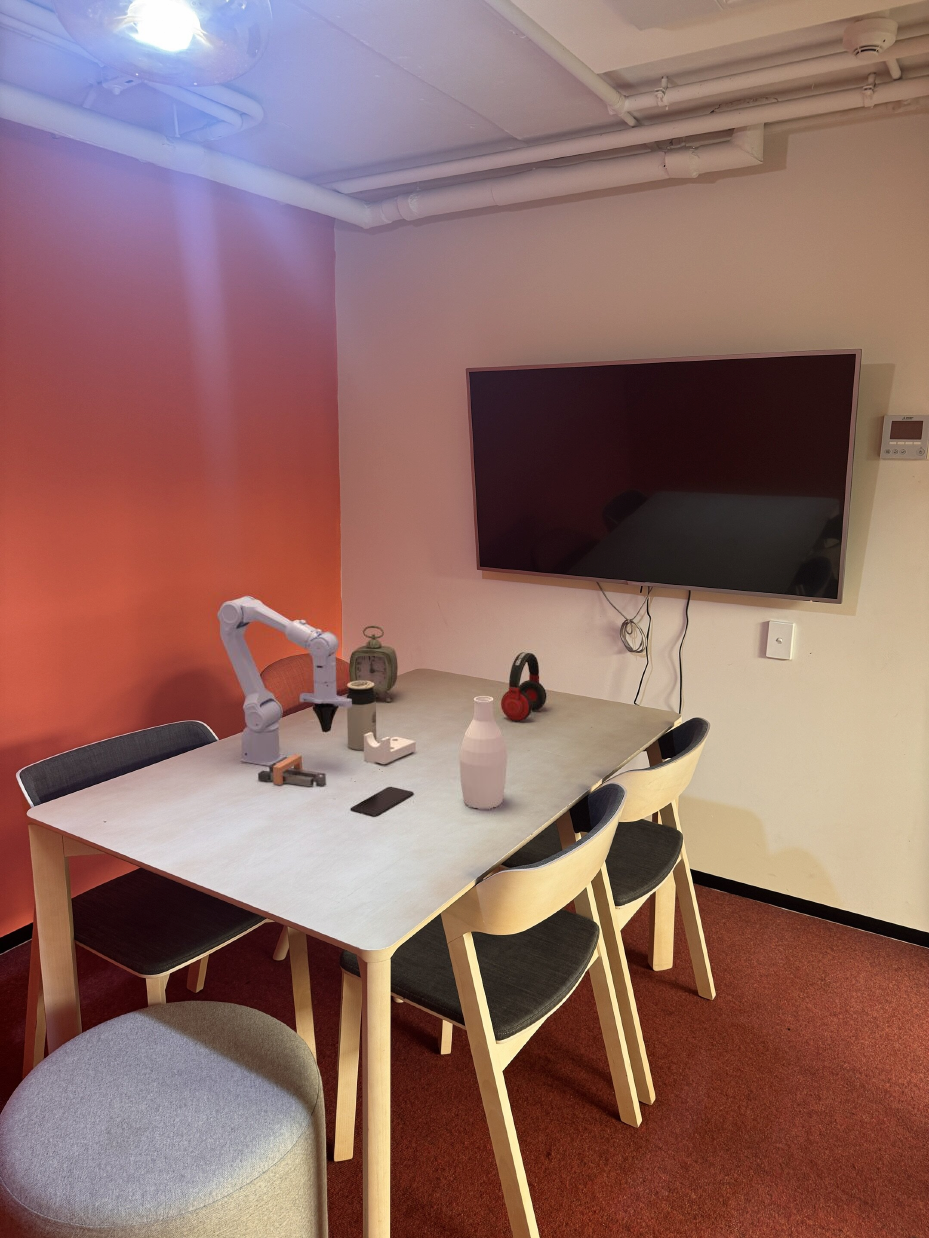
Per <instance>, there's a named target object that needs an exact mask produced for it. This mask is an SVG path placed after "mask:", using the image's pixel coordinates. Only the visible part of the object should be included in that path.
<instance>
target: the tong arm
mask: <svg viewBox="0 0 929 1238" xmlns="http://www.w3.org/2000/svg"><path fill="white" fill-rule="evenodd" d="M282 775H283V783H285V784H292V785H296V786H305V787H312V786H313V785H314V784H315V782H314V780H313V778H311V777H304V776H297V775H290V774H282ZM257 779H258V781H264V782H274V778H273V772H270V771H268V770H261V771H259V772H258V773H257Z"/></svg>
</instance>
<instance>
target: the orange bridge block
mask: <svg viewBox="0 0 929 1238" xmlns="http://www.w3.org/2000/svg"><path fill="white" fill-rule="evenodd" d="M276 764H277V765H275V766H273V778H274V781H273V784H274V785H279V786H281V785H283V775H282V772H284V771H285V770H287V769H289V768H296V769H302V770H303V755H302V754H293V755H292V756H290V757H288V758H286V759H283V760H282V761H279V763H276Z"/></svg>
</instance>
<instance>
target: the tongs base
mask: <svg viewBox="0 0 929 1238" xmlns="http://www.w3.org/2000/svg"><path fill="white" fill-rule="evenodd" d="M277 764H278V763H274V764H273V765H271V766H268V770H269V771H270V772H273V766H275V765H277ZM282 774H290V775H297V776H304V777H311V778H313V780H314V783H315V786H316V787H320V788H321V787H325V786H326V785H327V779H326V775H327V774H326V773H323V772H319V771H312V770H307V769H303V768H302V769H296V768H294V767H291V768H289V769H287V770H285V771H284V772H282Z"/></svg>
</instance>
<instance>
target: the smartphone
mask: <svg viewBox="0 0 929 1238" xmlns="http://www.w3.org/2000/svg"><path fill="white" fill-rule="evenodd" d="M414 795H415V794H414V791H411V790H406V789H404V788H403V789H402V788H398V787H395V786H387V787H385V788H383V789H381V790H380V791H378V792H377V793H375V794H373V795H371V796H369V797H367V798H366V799H363V801H361V802H358V803H357V804H355V805H353V806H351V807H350V811H351V812H354V813H357V814H362V815H365V816H368V817H372V818H376V817H379V816H381V815H383V814H384V813H386V812H388V811H390V810H392V809H393V808H394V807H396V806H398V805H399V804H401V803H403V802H404V801H406V800H408V799H410V798H412V797H413V796H414Z"/></svg>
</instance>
